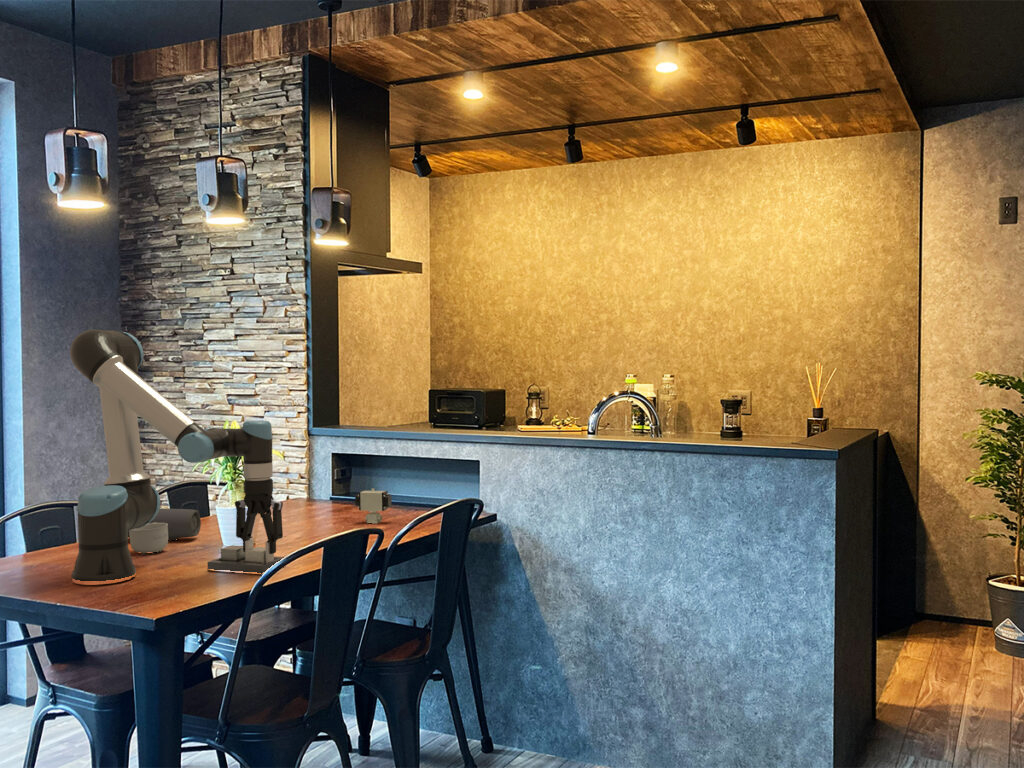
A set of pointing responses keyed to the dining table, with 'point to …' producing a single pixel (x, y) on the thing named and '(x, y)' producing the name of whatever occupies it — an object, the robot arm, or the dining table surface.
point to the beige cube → (256, 555)
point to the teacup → (149, 537)
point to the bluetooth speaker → (179, 522)
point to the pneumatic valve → (373, 504)
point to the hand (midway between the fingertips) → (259, 564)
